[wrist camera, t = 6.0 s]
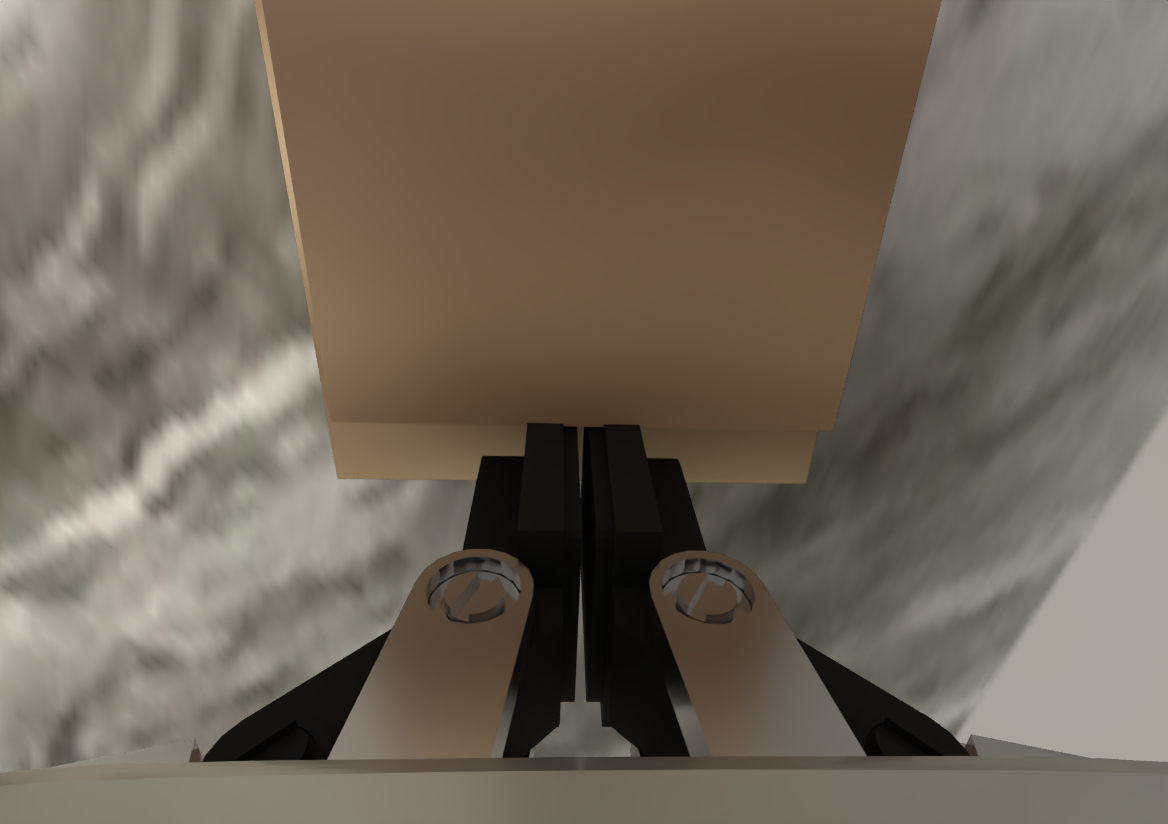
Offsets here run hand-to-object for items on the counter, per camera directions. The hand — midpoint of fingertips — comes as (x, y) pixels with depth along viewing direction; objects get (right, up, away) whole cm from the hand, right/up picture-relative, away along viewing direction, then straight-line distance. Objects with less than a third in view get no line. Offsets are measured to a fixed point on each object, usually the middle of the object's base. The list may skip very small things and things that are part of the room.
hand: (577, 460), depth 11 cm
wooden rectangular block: (0, +5, -2) cm, 5 cm away
